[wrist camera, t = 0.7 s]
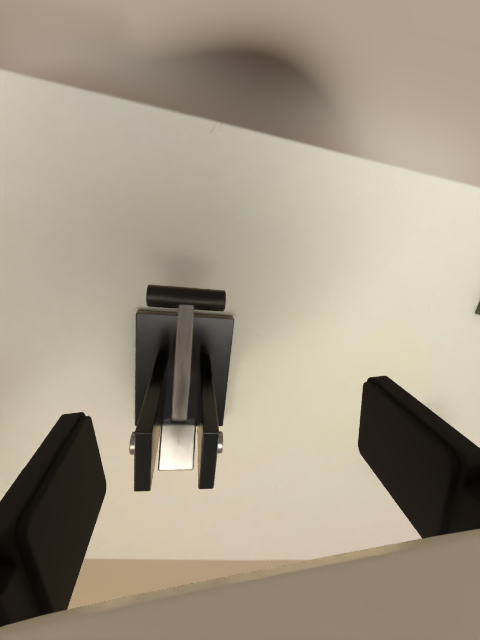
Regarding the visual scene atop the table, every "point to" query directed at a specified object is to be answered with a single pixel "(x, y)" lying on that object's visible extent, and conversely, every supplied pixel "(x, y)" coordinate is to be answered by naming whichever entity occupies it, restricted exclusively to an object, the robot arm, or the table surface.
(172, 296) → the lever
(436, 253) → the table surface
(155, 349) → the bracket
